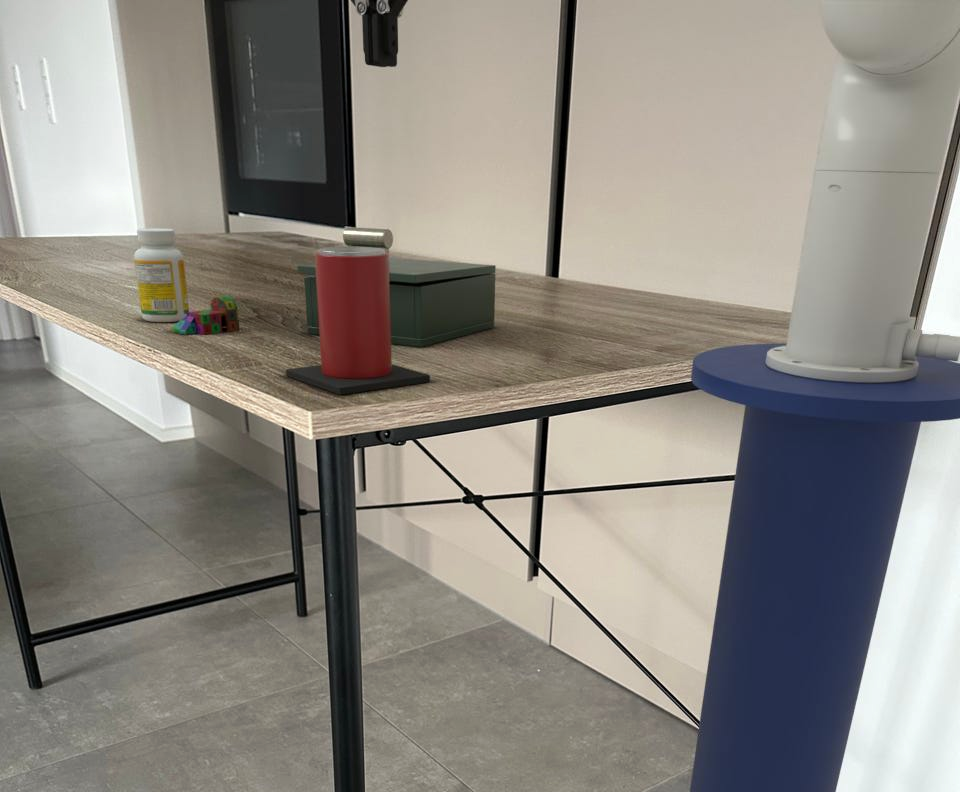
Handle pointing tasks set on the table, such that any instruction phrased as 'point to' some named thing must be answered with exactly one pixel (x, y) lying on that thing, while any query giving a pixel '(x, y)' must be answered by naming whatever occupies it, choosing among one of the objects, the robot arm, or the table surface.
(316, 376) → the mat
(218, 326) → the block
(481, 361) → the table surface
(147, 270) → the supplement bottle
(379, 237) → the bin lid
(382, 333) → the can
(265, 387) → the table surface
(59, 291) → the table surface
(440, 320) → the bin
